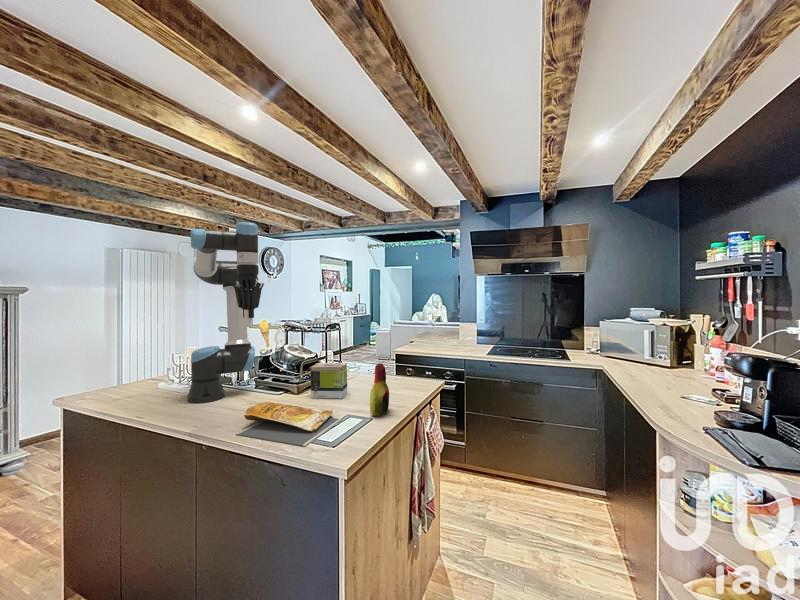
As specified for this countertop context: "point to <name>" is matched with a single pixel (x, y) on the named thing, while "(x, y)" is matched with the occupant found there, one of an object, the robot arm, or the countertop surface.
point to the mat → (286, 432)
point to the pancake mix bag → (288, 415)
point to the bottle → (379, 392)
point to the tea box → (329, 380)
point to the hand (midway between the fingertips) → (248, 326)
